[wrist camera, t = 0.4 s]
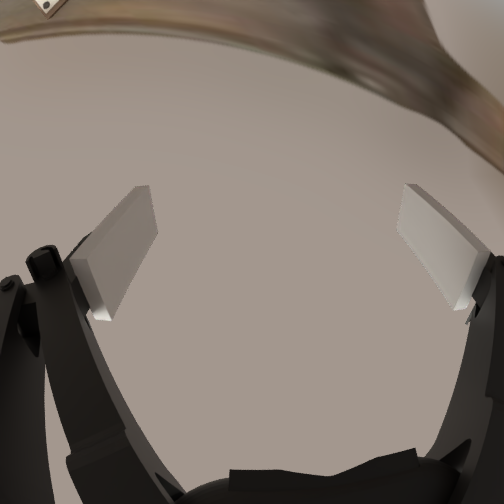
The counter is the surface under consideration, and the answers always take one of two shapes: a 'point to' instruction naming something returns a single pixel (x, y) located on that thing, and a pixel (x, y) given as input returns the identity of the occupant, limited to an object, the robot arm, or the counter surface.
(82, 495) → the robot arm
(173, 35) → the counter surface
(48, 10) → the coaster board
